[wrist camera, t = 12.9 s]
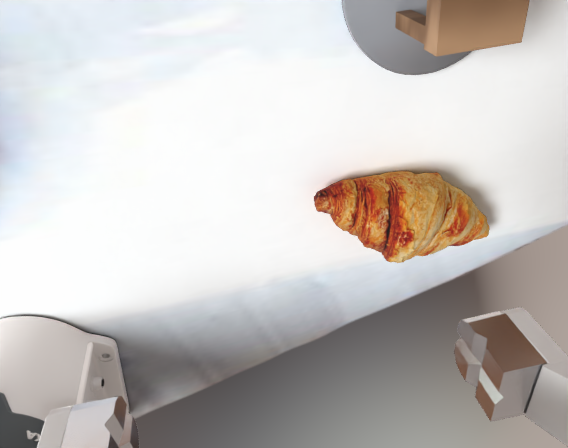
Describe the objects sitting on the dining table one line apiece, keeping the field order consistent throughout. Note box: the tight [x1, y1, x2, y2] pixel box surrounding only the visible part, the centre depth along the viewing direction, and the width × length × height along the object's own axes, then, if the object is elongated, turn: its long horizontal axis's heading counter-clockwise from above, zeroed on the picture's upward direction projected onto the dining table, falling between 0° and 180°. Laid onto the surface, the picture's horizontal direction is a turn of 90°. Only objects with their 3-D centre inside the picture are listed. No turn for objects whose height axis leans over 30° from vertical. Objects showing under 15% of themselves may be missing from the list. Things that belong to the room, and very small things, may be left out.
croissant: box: [314, 171, 489, 263], centre depth 45 cm, size 21×10×8 cm, turn 74°
